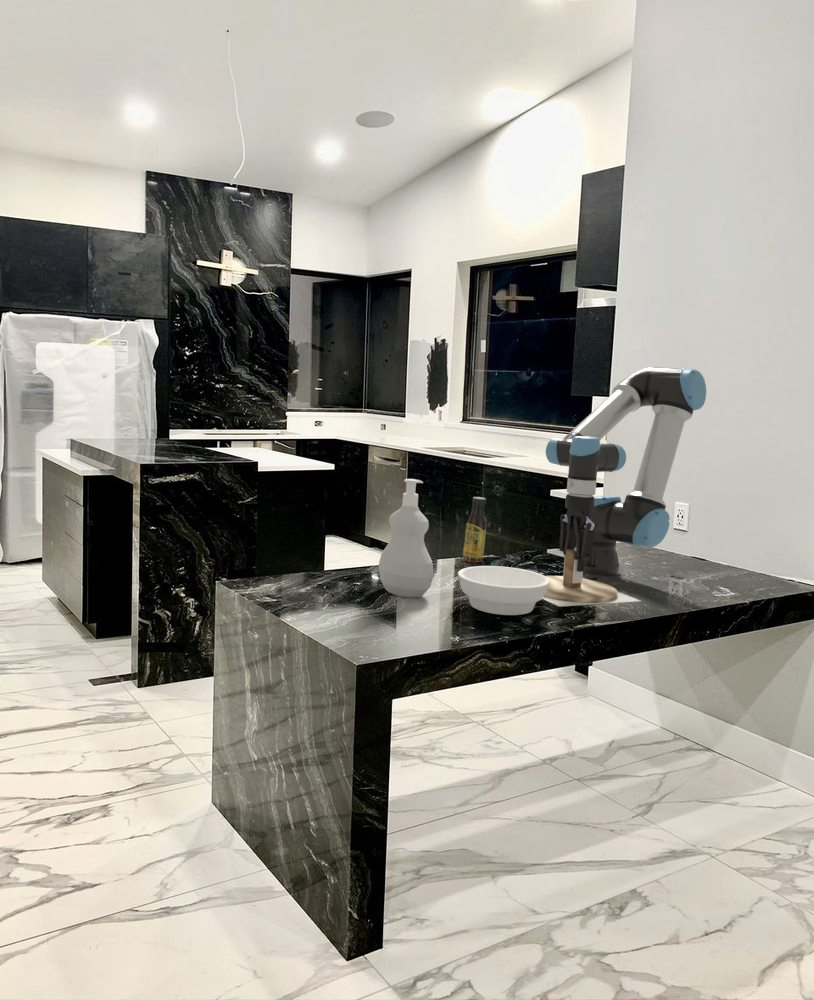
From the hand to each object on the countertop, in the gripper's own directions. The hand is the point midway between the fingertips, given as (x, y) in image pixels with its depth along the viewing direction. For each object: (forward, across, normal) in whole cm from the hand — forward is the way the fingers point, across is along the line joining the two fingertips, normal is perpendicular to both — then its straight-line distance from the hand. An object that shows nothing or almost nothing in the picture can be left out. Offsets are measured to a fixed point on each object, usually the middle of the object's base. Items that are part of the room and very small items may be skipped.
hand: (572, 580), depth 232 cm
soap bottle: (+4, -8, -46) cm, 47 cm away
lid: (+3, 0, 0) cm, 3 cm away
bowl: (+4, +10, -28) cm, 30 cm away
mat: (+3, 0, 0) cm, 3 cm away
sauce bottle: (+4, -40, -8) cm, 41 cm away
